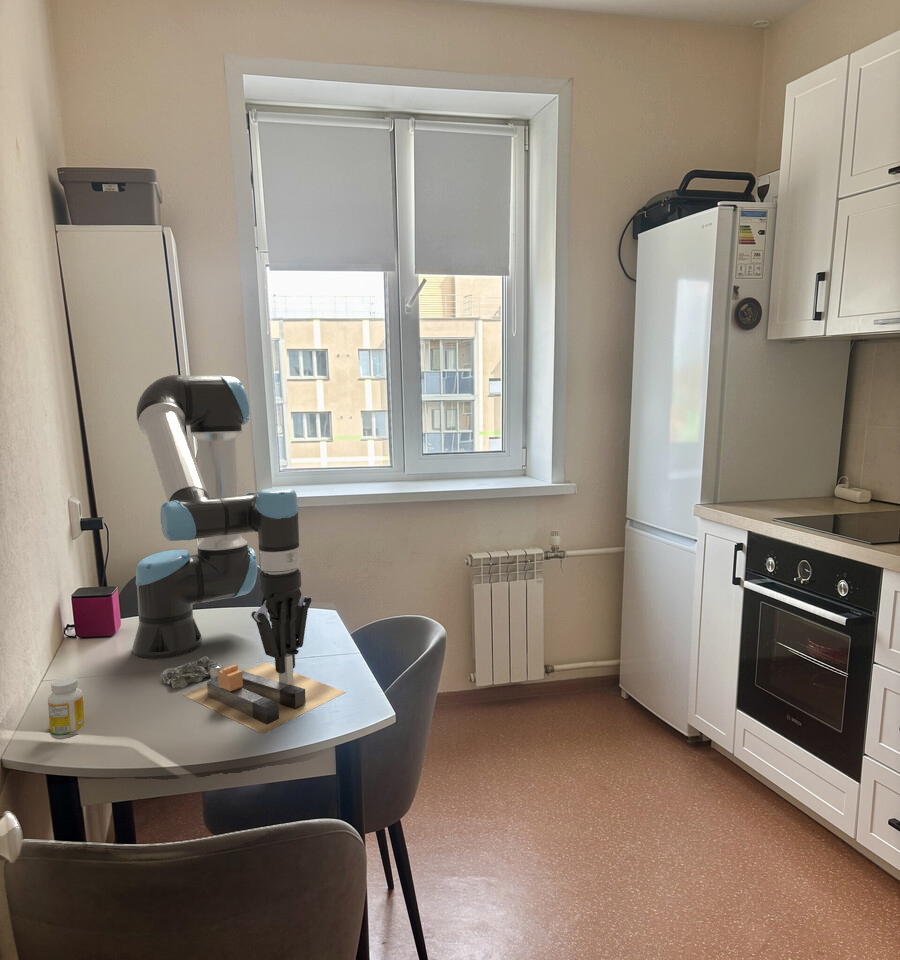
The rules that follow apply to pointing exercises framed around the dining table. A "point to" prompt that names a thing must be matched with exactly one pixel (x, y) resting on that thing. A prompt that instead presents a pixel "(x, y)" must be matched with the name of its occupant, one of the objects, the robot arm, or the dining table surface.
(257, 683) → the bar
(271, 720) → the tongs fixed
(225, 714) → the board
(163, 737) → the dining table surface
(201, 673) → the grey lumpy stone piece
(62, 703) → the supplement bottle
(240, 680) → the tab
